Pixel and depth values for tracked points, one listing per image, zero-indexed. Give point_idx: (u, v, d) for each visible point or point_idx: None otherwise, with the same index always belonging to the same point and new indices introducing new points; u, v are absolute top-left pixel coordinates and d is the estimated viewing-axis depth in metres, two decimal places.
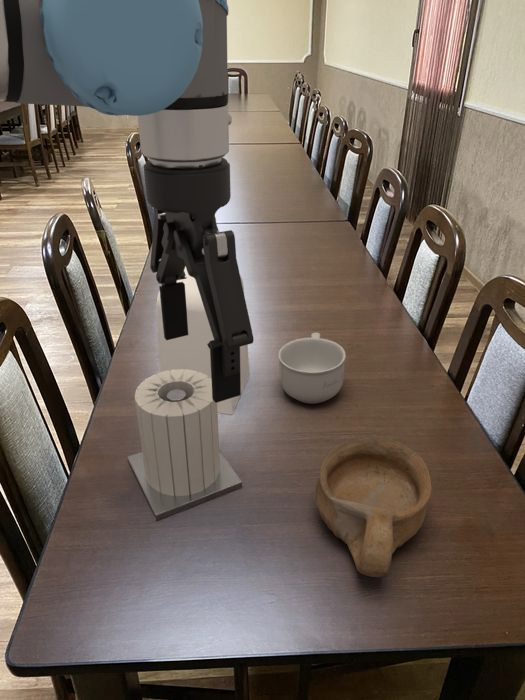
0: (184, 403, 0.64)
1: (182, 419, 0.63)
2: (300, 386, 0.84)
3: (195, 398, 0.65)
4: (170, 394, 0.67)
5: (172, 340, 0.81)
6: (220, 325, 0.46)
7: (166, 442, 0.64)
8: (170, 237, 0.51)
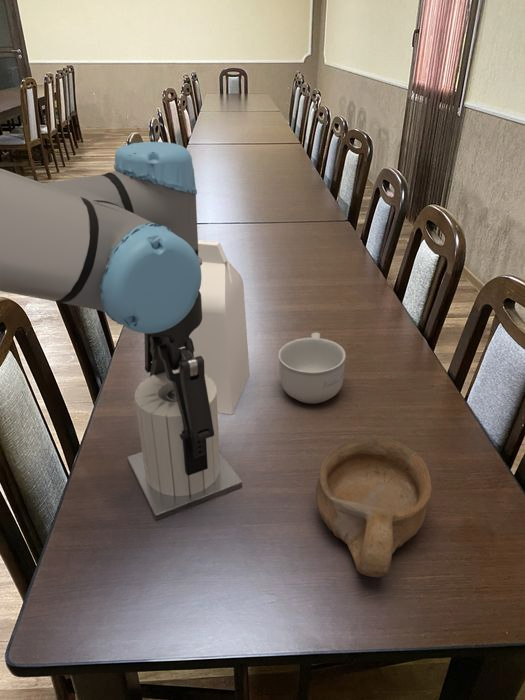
0: None
1: None
2: (300, 386, 0.84)
3: None
4: (170, 394, 0.67)
5: None
6: (189, 424, 0.60)
7: (166, 442, 0.64)
8: (155, 347, 0.63)
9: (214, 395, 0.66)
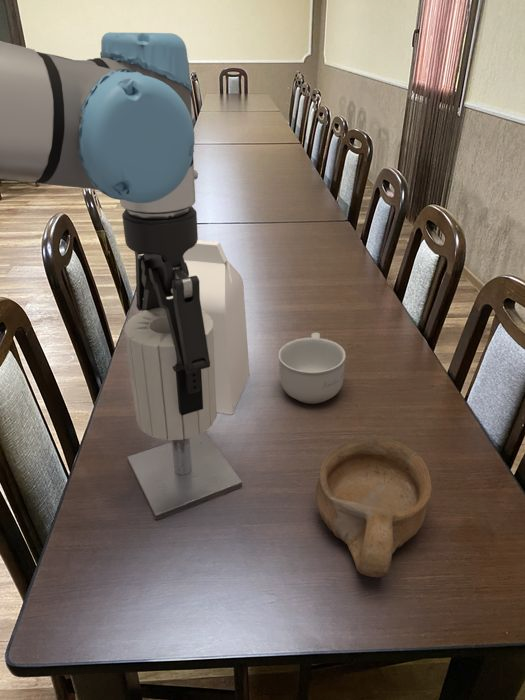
0: None
1: None
2: (300, 386, 0.84)
3: None
4: None
5: None
6: (183, 352, 0.55)
7: (158, 378, 0.59)
8: (147, 273, 0.59)
9: (210, 328, 0.61)
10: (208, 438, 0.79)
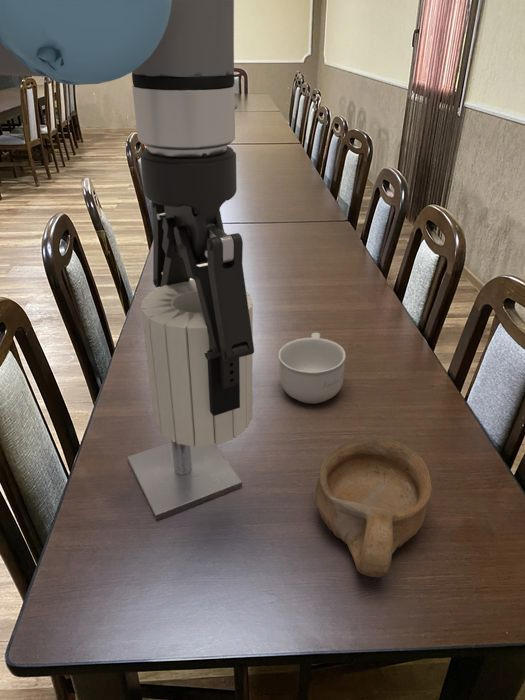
0: None
1: None
2: (300, 386, 0.84)
3: None
4: None
5: None
6: (220, 334, 0.43)
7: (185, 368, 0.47)
8: (170, 234, 0.46)
9: (250, 306, 0.48)
10: None
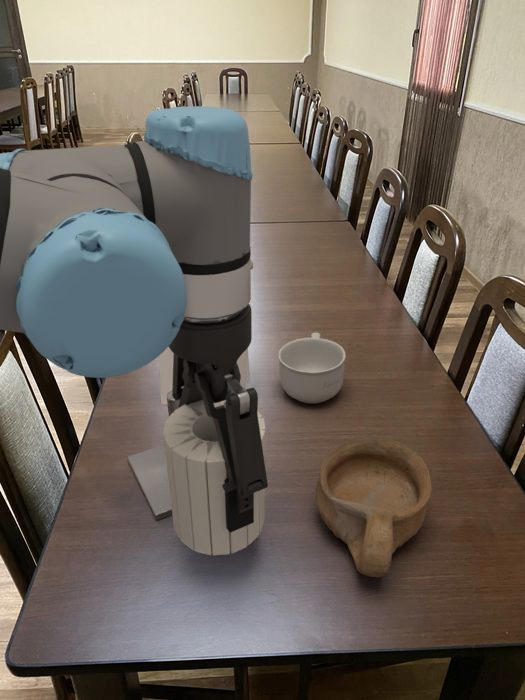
0: None
1: None
2: (300, 386, 0.84)
3: None
4: (170, 394, 0.67)
5: None
6: (236, 473, 0.47)
7: (204, 493, 0.51)
8: (190, 373, 0.50)
9: (263, 432, 0.53)
10: None
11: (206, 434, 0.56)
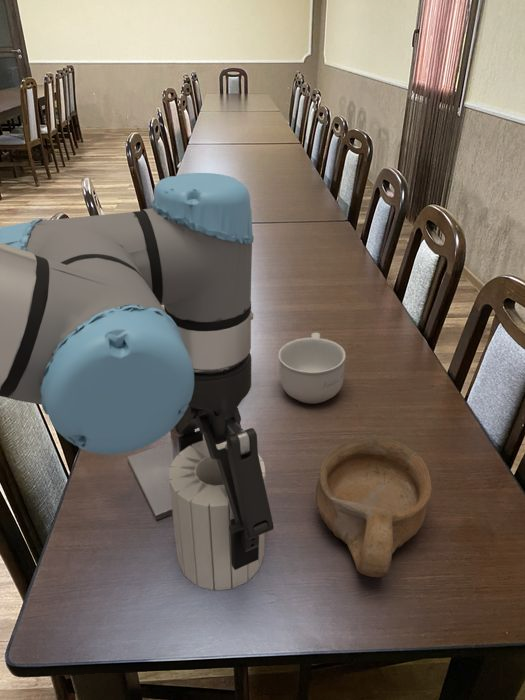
0: None
1: (228, 509, 0.52)
2: (300, 386, 0.84)
3: None
4: None
5: None
6: (242, 515, 0.48)
7: (207, 534, 0.54)
8: (192, 414, 0.53)
9: (263, 475, 0.56)
10: None
11: (209, 475, 0.59)
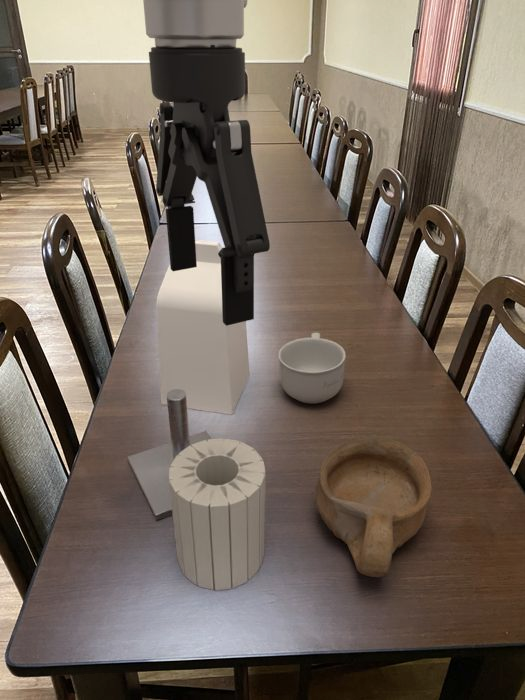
0: (229, 487, 0.54)
1: (228, 509, 0.52)
2: (300, 386, 0.84)
3: (241, 480, 0.55)
4: (170, 394, 0.67)
5: (172, 340, 0.81)
6: (233, 228, 0.41)
7: (207, 534, 0.54)
8: (178, 141, 0.46)
9: (263, 475, 0.56)
10: (208, 438, 0.79)
11: (209, 475, 0.59)
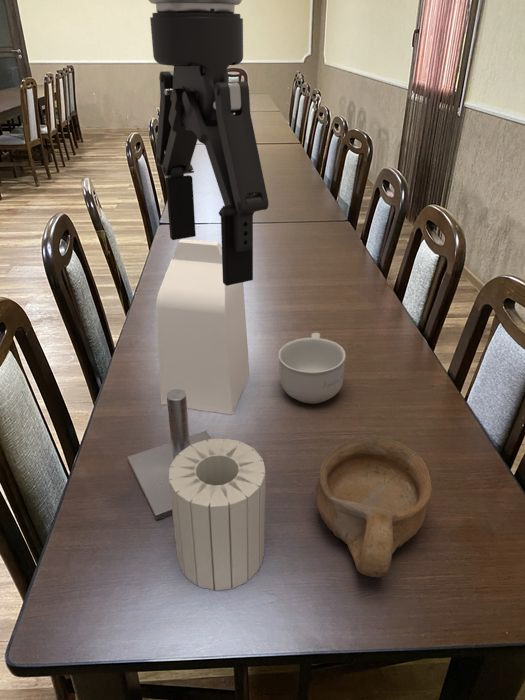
0: (229, 487, 0.54)
1: (228, 509, 0.52)
2: (300, 386, 0.84)
3: (241, 480, 0.55)
4: (170, 394, 0.67)
5: (172, 340, 0.81)
6: (233, 186, 0.43)
7: (207, 534, 0.54)
8: (178, 106, 0.47)
9: (263, 475, 0.56)
10: (208, 438, 0.79)
11: (209, 475, 0.59)
